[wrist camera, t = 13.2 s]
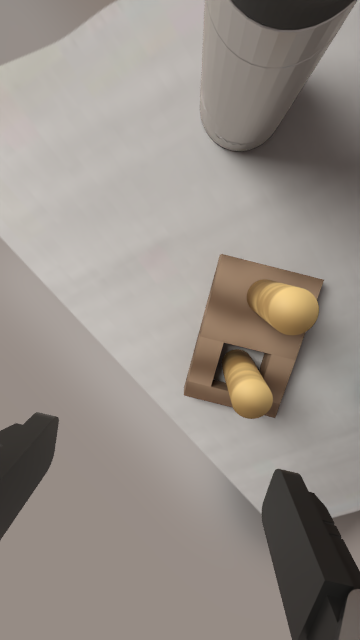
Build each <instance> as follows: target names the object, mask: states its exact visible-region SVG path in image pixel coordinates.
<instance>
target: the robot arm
mask: <svg viewBox="0 0 360 640" xmlns="http://www.w3.org/2000/svg"><path fill="white" fill-rule="evenodd" d="M356 2H357V0H205V8H204V29H203V51H202V72H201V92H200V114H201V120H202V123H203V125H204V128H205V130H206V131H207V133H208V135H209V136H210V137H211V138H212V139H213V140H214V142H216V143H217V144H219V145H220V146H221V147H223V148H226V149H229V150H233V151H246V150H250V149H253V148H256V147H258V146H259V145H261V144H263V143H264V142H265V141H266V140H267V139H268V138H270V137H271V135H272V134H273V133H274V131H275V130H276V129H277V127H278V125H279V124H280V122H281V121H282V119H283V118H284V116H285V114H286V113H287V112H288V110H289V108H290V107H291V105H292V104H293V102H294V101H295V99H296V97H297V96H298V94H299V93H300V91H301V89H302V88H303V86H304V85H305V83H306V82H307V80H308V78H309V77H310V75H311V74H312V72H313V70H314V69H315V67H316V66H317V64H318V63H319V61H320V59H321V58H322V56H323V55H324V53H325V51H326V50H327V48H328V47H329V45H330V43H331V42H332V40H333V39H334V37H335V36H336V34H337V32H338V31H339V29H340V28H341V26H342V24H343V23H344V21H345V19H346V18H347V16H348V15H349V13H350V11H351V10H352V8H353V7H354V5H355V4H356ZM58 422H59V419H58V417H55V416H51V415H47V414H43V413H35V414H34V415H33V416H32V417H31V418H29V419H28V420H27V421H26V422H25V423H24V424H23V425H21V424H14V425H12V426H9V427H8V428H5V429H3V430H1V431H0V540H1V538H2V537H3V535H4V534H5V532H6V531H7V530H8V528H9V527H10V525H11V524H12V522H13V521H14V519H15V518H16V516H17V515H18V513H19V512H20V510H21V509H22V507H23V506H24V505H25V503H26V502H27V500H28V499H29V497H30V496H31V494H32V493H33V491H34V490H35V488H36V487H37V486H38V484H39V483H40V481H41V480H42V478H43V477H44V475H45V474H46V472H47V471H48V469H49V467H50V465H51V462H52V459H53V456H54V451H55V443H56V437H57V430H58ZM262 522H263V527H264V531H265V535H266V538H267V543H268V546H269V550H270V554H271V558H272V562H273V566H274V570H275V574H276V578H277V582H278V586H279V590H280V594H281V598H282V602H283V606H284V610H285V613H286V617H287V621H288V625H289V629H290V633H291V637H292V640H360V571H359V569H358V567H357V565H356V564H355V562H354V560H353V558H352V556H351V554H350V552H349V550H348V548H347V546H346V544H345V542H344V540H343V539H341V535H340V533H339V531H338V529H337V527H336V526H334V521H333V519H332V518H331V516H330V514H329V512H328V510H327V508H326V507H325V505H324V504H323V503H322V502H321V501H320V500H319V499H318V497H317V496H316V495H315V494H314V493H311V492H308V490H307V487H306V485H305V483H304V481H303V479H302V477H301V476H300V474H298V473H294V472H290V471H286V470H281V469H276V470H275V472H274V474H273V476H272V479H271V482H270V485H269V488H268V490H267V493H266V496H265V499H264V502H263V506H262Z"/></svg>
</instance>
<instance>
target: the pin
mask: <svg viewBox="0 0 360 640" xmlns="http://www.w3.org/2000/svg"><path fill="white" fill-rule="evenodd" d="M222 369H223V373H224V377H225V380H226V384H227V388H228V391H229V395H230V399H231V402H232V406H233V408H234V410H235V411H236V412H237V413H238V414H239V415H240V416H242V417H245V418H249V419H254V418H259V417H261V416H263V415H265V414H266V413H267V412H268V411H269V410H270V408H271V406H272V403H273V396H272V393H271V391H270V389H269V387H268V385H267V384H266V382H265V380H264V379H263V377H262V375H261V374H260V372H259V370H258V369H257V367H256V365H255V364H254V362H253V360H252V359H251V357H250V356H249V354H248V353H247V352H245V351H243V350H239V349H235V350H231V351H229V352H227V353H226V354H225V355H224V357H223V359H222Z"/></svg>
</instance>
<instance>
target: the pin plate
mask: <svg viewBox="0 0 360 640" xmlns="http://www.w3.org/2000/svg"><path fill="white" fill-rule="evenodd" d="M323 281H324V280H322V279H318V278H314V277H310V276H306V275H303V274H299V273H295V272H291V271H287V270H283V269H279V268H275V267H271V266H267V265H263V264H259V263H255V262H251V261H247V260H243V259H239V258H235V257H231V256H227V255H223V254H221V255H220V257H219V260H218V264H217V268H216V272H215V275H214V279H213V283H212V286H211V290H210V294H209V297H208V301H207V305H206V309H205V312H204V316H203V320H202V323H201V327H200V331H199V335H198V338H197V342H196V346H195V349H194V353H193V357H192V360H191V364H190V368H189V372H188V375H187V379H186V383H185V386H184V395H185V396H189V397H193V398H197V399H201V400H205V401H209V402H213V403H217V404H221V405H225V406H229V407H233V406H232V402H231V399H230V395H229V391H228V388H227V384H226V383H225V382H221V381H217V380H213V378H214V374H215V371H216V367H217V364H218V361H219V357H220V354H221V350H222V347H223V343H228V344H232V345H236V346H240V347H244V348H248V349H252V350H256V351H260V352H264V353H265V354H264V357H263V360H262V363H261V366H260V369H259V372H260V374H261V375H262V377H263V379H264V380H265V382H266V384H267V385H268V387H269V389H270V391H271V393H272V396H273V403H272V406H271V408H270V410H269V411H268V412H267V413H266V414H265V416H269V417H273V418H275V417H276V414H277V411H278V408H279V406H280V403H281V400H282V397H283V394H284V391H285V389H286V386H287V383H288V380H289V377H290V374H291V372H292V369H293V366H294V363H295V360H296V358H297V355H298V352H299V349H300V346H301V343H302V341H303V338H304V335H305V332H306V331H308V330H309V329H310V328H311V327H312V326H313V325H314V323H315V322H316V320H317V317H318V313H319V306H318V302H317V298H318V295H319V292H320V290H321V287H322V284H323Z"/></svg>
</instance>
